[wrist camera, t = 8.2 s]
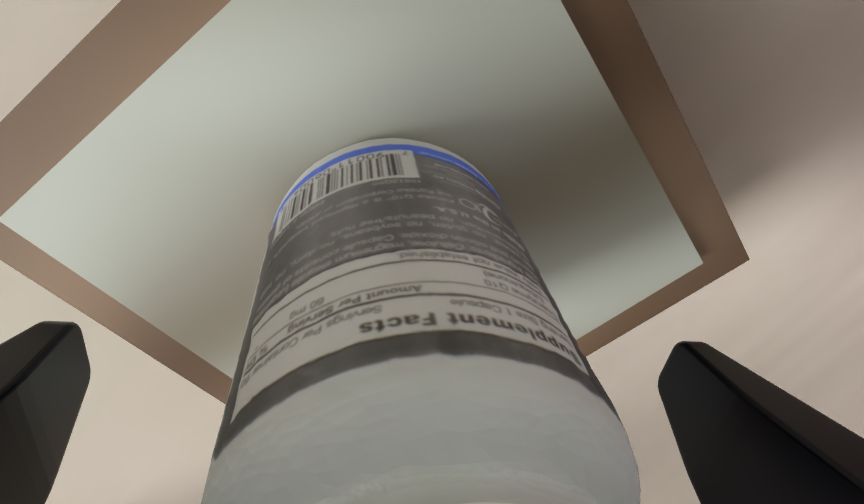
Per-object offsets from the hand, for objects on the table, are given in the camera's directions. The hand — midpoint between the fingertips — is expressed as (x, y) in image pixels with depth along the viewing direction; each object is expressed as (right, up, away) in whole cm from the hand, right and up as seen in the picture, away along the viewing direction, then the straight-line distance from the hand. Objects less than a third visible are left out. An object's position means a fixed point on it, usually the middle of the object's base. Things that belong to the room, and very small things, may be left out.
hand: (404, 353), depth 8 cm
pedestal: (-1, +3, +5) cm, 6 cm away
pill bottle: (0, +2, +3) cm, 3 cm away
